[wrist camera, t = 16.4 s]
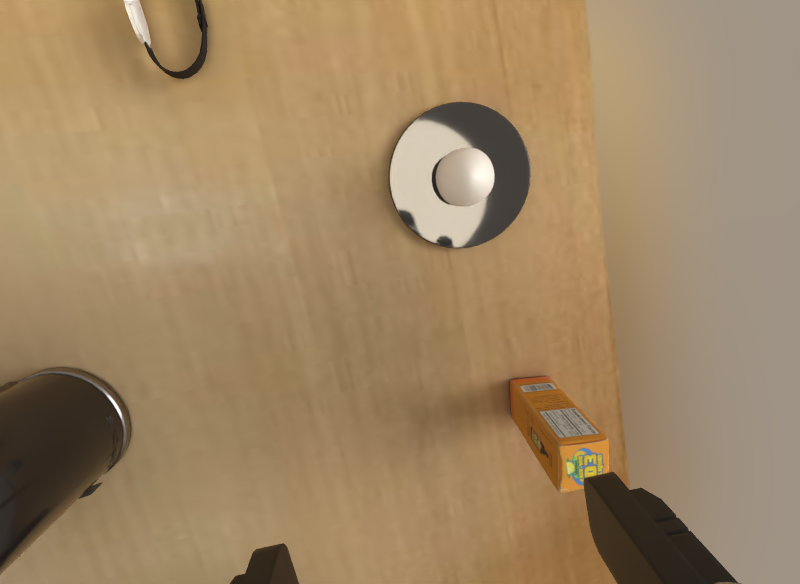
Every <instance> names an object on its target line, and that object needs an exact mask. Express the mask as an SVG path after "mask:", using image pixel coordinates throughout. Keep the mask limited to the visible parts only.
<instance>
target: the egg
mask: <svg viewBox="0 0 800 584" xmlns="http://www.w3.org/2000/svg"><path fill="white" fill-rule="evenodd" d="M494 176H495V175H494V168H493V165H492V163H491V161H490V159H489V158H488V156H487V155H486V154H485V153H483V152H482V151H480V150H478V149H475V148H461V149H457V150H454V151H452V152H450V153H449V154H447V155H446V156H445V157H444V158H443V159H442V160H441V161H440V163H439V165H438V167H437V171H436V185H437V188H438V191H439V193H440V195H441V196H442V198H443V199H444V200H445V201H446V202H448V203H449V204H452V205H454V206H471V205H474V204H476V203H478V202H480V201H482V200H483V199H484V198H486V197H487V196H488V194H489V193H490V192H491V190H492V188H493V185H494Z"/></svg>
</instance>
